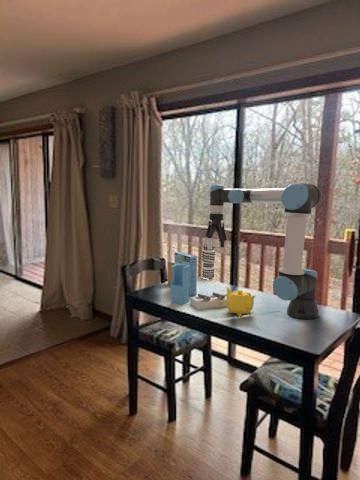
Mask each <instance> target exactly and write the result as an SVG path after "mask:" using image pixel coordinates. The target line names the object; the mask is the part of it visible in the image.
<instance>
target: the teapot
mask: <svg viewBox="0 0 360 480" xmlns="http://www.w3.org/2000/svg"><path fill="white" fill-rule="evenodd" d="M225 288H226V292H227V293H226V294H227V304H226V306H225V307H226V309H227V310H228V311H229V312H228V313H229V314H236V316H237V317H242V316H243V315H242V314H246V315H250V314H251V313H250V312H252V310H253V309H254V304H255V303H254V300H255V297H256V295H252V293H251V292H244V291H243V290H242V289H238V290H237V291H238V292H233V293H232V294H231V292H232V291H231V289H230V287H228V286H225Z"/></svg>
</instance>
